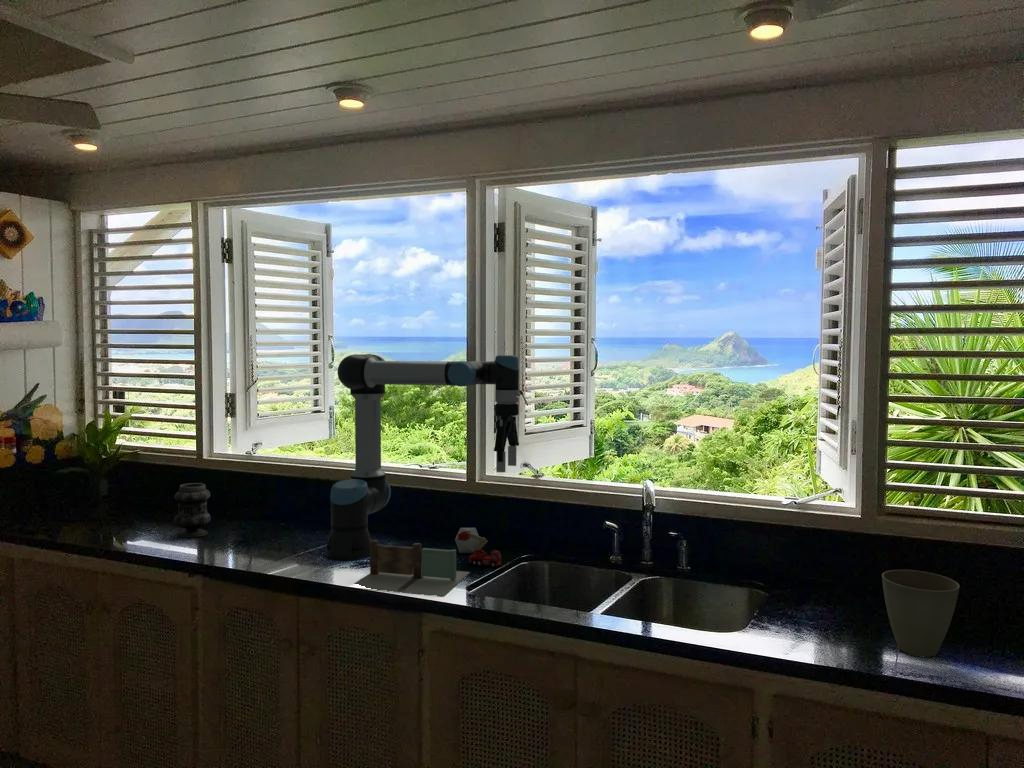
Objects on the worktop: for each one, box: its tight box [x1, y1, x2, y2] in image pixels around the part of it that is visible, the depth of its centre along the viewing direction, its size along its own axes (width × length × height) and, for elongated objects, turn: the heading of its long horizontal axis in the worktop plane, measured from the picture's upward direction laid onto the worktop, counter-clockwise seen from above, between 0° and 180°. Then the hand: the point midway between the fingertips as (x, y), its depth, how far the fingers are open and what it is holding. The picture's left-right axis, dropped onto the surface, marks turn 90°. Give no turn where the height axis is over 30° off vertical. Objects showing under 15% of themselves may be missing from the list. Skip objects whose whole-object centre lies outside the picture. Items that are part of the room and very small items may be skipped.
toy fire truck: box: [457, 531, 502, 568], centre depth 227 cm, size 3×14×10 cm, turn 71°
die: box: [454, 527, 480, 554], centre depth 241 cm, size 8×9×10 cm
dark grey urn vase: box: [173, 482, 211, 539], centre depth 262 cm, size 12×12×18 cm
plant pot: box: [881, 569, 961, 658], centre depth 161 cm, size 15×15×16 cm
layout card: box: [353, 570, 471, 597], centre depth 210 cm, size 28×22×1 cm
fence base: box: [369, 539, 423, 578], centre depth 214 cm, size 16×2×10 cm, turn 75°
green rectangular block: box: [421, 547, 457, 581], centre depth 210 cm, size 10×2×8 cm, turn 75°
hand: (506, 468), depth 236 cm, fingers open, 13 cm apart
